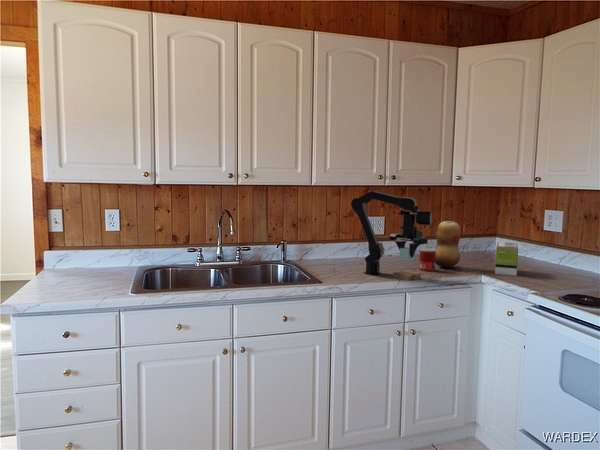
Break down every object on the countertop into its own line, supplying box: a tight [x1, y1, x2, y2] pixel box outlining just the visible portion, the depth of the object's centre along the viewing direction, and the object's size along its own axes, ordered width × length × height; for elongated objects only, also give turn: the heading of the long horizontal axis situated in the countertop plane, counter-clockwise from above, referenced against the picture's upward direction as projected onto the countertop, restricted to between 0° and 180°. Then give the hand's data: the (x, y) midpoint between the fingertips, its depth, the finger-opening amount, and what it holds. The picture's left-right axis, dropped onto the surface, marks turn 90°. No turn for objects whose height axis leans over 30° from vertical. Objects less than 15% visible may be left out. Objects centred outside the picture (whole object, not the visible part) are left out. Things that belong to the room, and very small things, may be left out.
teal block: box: [399, 246, 416, 261], centre depth 198 cm, size 5×5×5 cm
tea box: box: [494, 241, 519, 277], centre depth 212 cm, size 15×10×15 cm, turn 154°
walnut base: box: [392, 270, 421, 281], centre depth 199 cm, size 9×9×2 cm
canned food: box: [418, 247, 436, 273], centre depth 215 cm, size 8×8×11 cm
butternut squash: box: [434, 220, 461, 269], centre depth 221 cm, size 14×13×25 cm
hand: (407, 256), depth 198 cm, fingers closed on teal block, 5 cm apart
